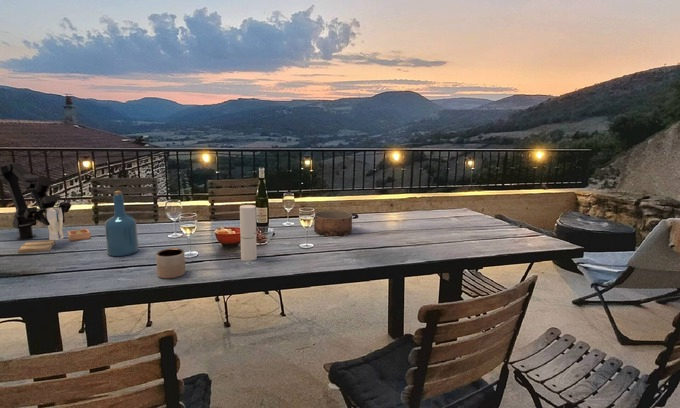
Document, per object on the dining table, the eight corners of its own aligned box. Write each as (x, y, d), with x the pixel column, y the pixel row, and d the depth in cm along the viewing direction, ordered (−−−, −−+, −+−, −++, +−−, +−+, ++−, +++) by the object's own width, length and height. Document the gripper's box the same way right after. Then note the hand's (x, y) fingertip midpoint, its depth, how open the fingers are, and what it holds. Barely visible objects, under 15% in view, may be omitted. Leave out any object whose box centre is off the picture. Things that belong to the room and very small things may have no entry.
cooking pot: (308, 237, 222) (308, 218, 220) (307, 227, 244) (307, 210, 241) (360, 236, 225) (361, 218, 223) (355, 226, 247) (355, 210, 245)
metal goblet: (54, 241, 189) (51, 210, 186) (44, 239, 191) (40, 209, 188) (68, 237, 195) (65, 208, 192) (58, 235, 197) (54, 206, 194)
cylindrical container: (259, 257, 187) (258, 205, 182) (251, 261, 181) (250, 208, 176) (246, 255, 189) (245, 204, 184) (238, 259, 183) (236, 207, 178)
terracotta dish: (68, 237, 210) (67, 231, 210) (87, 234, 216) (87, 228, 215) (70, 241, 204) (69, 235, 203) (90, 238, 210) (90, 232, 209)
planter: (162, 269, 169) (161, 248, 167) (188, 269, 170) (187, 248, 168) (153, 279, 158) (151, 256, 156) (181, 279, 159) (179, 256, 157)
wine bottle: (125, 258, 181) (119, 194, 175) (100, 255, 184) (94, 192, 178) (145, 249, 194) (140, 189, 188) (122, 247, 197) (116, 188, 191)
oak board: (26, 244, 197) (25, 242, 197) (55, 242, 202) (54, 239, 202) (18, 253, 185) (18, 250, 184) (49, 250, 190) (49, 247, 190)
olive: (76, 236, 210) (75, 230, 210) (83, 235, 212) (82, 230, 211) (75, 237, 208) (74, 232, 207) (82, 237, 209) (81, 231, 209)
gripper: (23, 191, 182) (38, 218, 179) (67, 186, 198) (81, 210, 195) (17, 205, 187) (32, 231, 184) (60, 199, 203) (74, 223, 200)
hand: (56, 223), depth 191 cm, fingers closed on metal goblet, 6 cm apart
